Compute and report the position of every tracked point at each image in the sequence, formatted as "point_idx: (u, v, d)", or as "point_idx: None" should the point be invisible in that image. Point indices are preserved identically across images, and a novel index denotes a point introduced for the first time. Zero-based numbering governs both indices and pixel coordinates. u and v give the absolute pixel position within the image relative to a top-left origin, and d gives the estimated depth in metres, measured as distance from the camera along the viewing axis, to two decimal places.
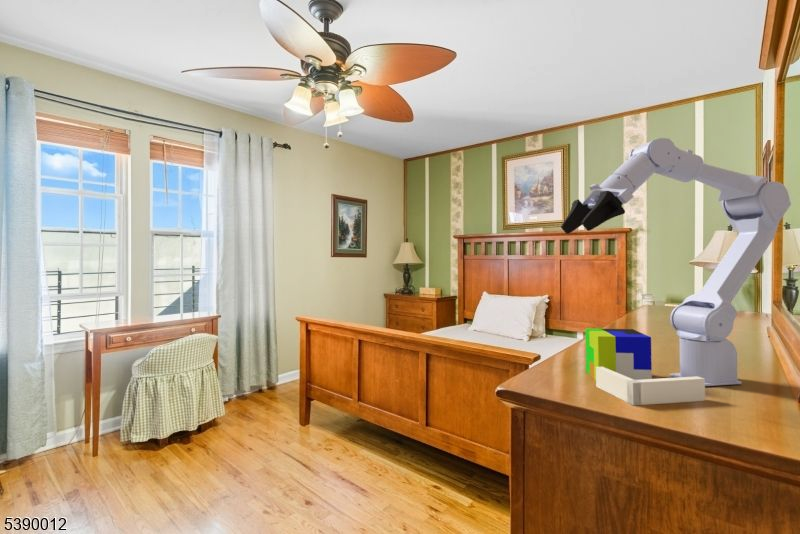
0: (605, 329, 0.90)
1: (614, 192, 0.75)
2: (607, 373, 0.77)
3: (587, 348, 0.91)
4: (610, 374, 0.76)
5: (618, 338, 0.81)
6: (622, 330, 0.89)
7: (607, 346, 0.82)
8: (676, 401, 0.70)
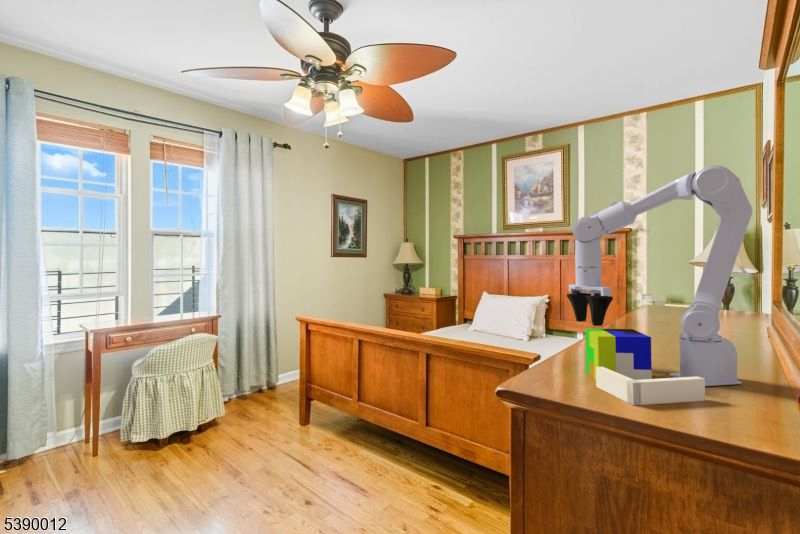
0: (605, 329, 0.90)
1: (595, 290, 0.91)
2: (607, 373, 0.77)
3: (587, 348, 0.91)
4: (610, 374, 0.76)
5: (618, 338, 0.81)
6: (622, 330, 0.88)
7: (607, 346, 0.82)
8: (676, 401, 0.70)
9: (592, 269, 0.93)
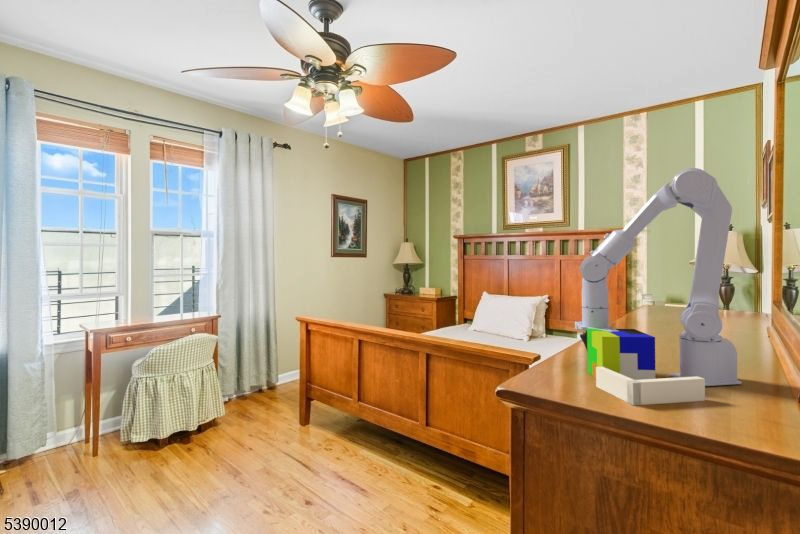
0: None
1: None
2: (607, 373, 0.77)
3: (589, 348, 0.90)
4: (610, 374, 0.76)
5: (622, 338, 0.80)
6: (624, 330, 0.88)
7: (611, 347, 0.81)
8: (676, 401, 0.70)
9: (599, 310, 0.91)
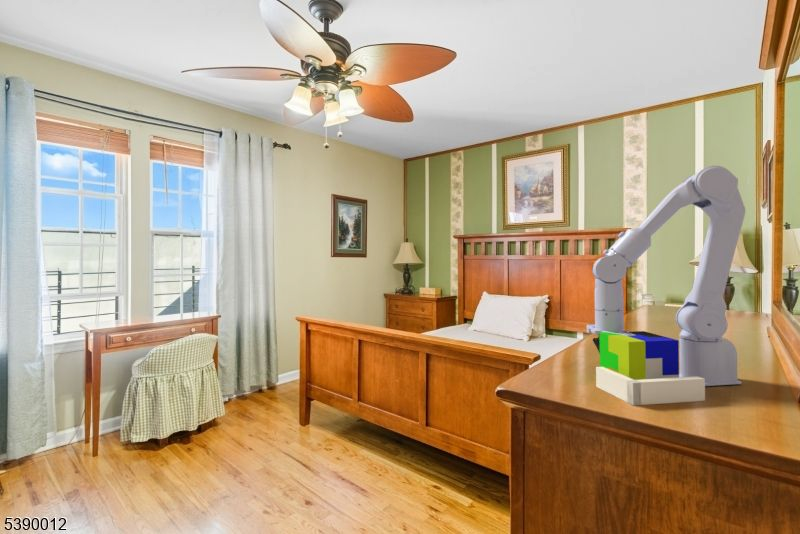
0: None
1: None
2: (607, 373, 0.77)
3: (603, 354, 0.84)
4: (610, 374, 0.76)
5: (648, 342, 0.76)
6: (637, 333, 0.84)
7: (637, 352, 0.76)
8: (676, 401, 0.70)
9: (614, 313, 0.85)
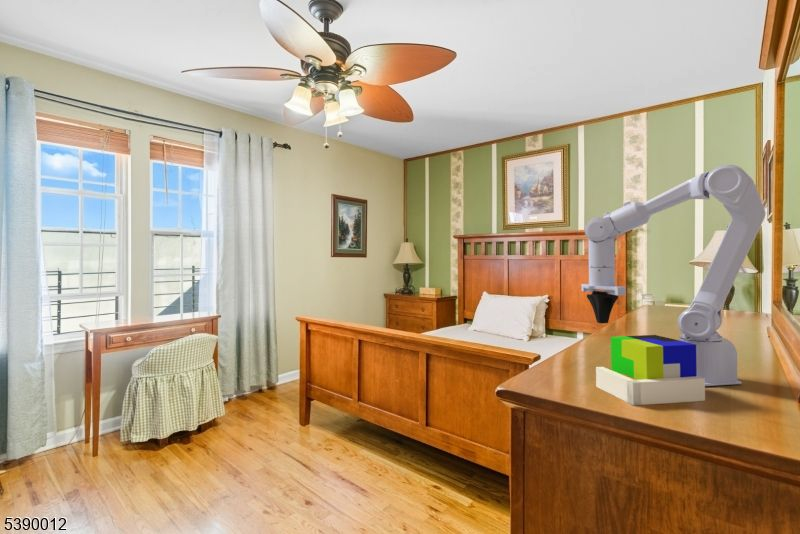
0: (632, 336, 0.81)
1: (609, 289, 0.91)
2: (607, 373, 0.77)
3: (615, 359, 0.80)
4: (610, 374, 0.76)
5: (665, 347, 0.72)
6: (650, 337, 0.80)
7: (655, 358, 0.72)
8: (676, 401, 0.70)
9: (606, 269, 0.93)
